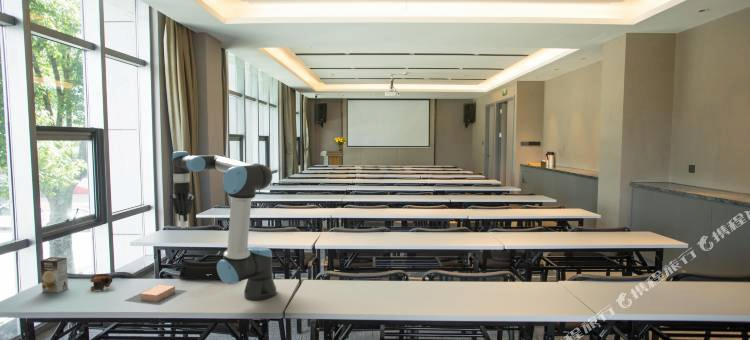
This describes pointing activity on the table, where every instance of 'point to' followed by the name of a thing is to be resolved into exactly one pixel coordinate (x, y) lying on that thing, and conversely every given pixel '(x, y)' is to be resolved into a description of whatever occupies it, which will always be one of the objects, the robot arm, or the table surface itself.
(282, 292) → the table surface
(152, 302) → the mat
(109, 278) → the pottery mug
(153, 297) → the board
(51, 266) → the coffee box
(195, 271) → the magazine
